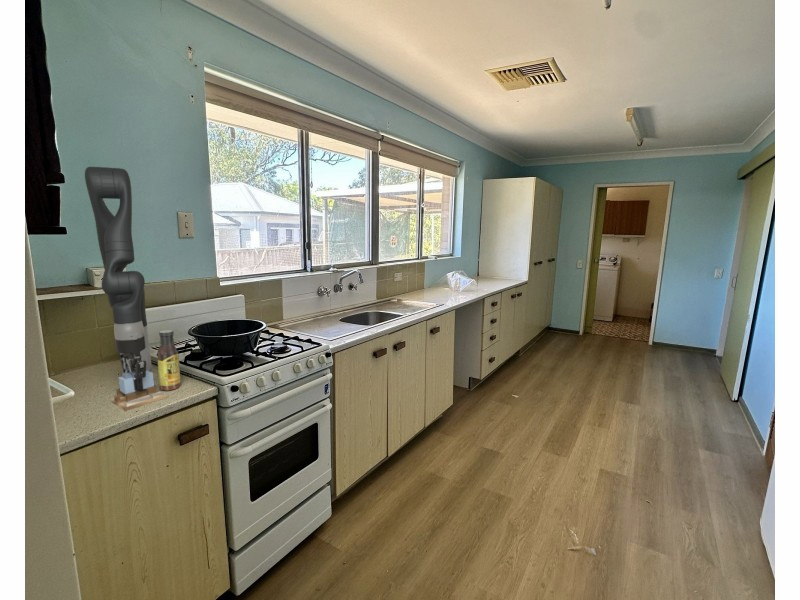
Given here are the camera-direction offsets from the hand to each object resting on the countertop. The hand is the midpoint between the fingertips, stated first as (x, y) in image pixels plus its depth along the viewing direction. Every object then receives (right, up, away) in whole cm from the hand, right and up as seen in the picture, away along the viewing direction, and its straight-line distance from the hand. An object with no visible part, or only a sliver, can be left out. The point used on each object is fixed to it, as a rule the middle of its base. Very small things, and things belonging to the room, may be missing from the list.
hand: (135, 387), depth 123 cm
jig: (0, -4, +1) cm, 4 cm away
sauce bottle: (+5, -2, +10) cm, 11 cm away
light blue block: (0, 0, 0) cm, 1 cm away
